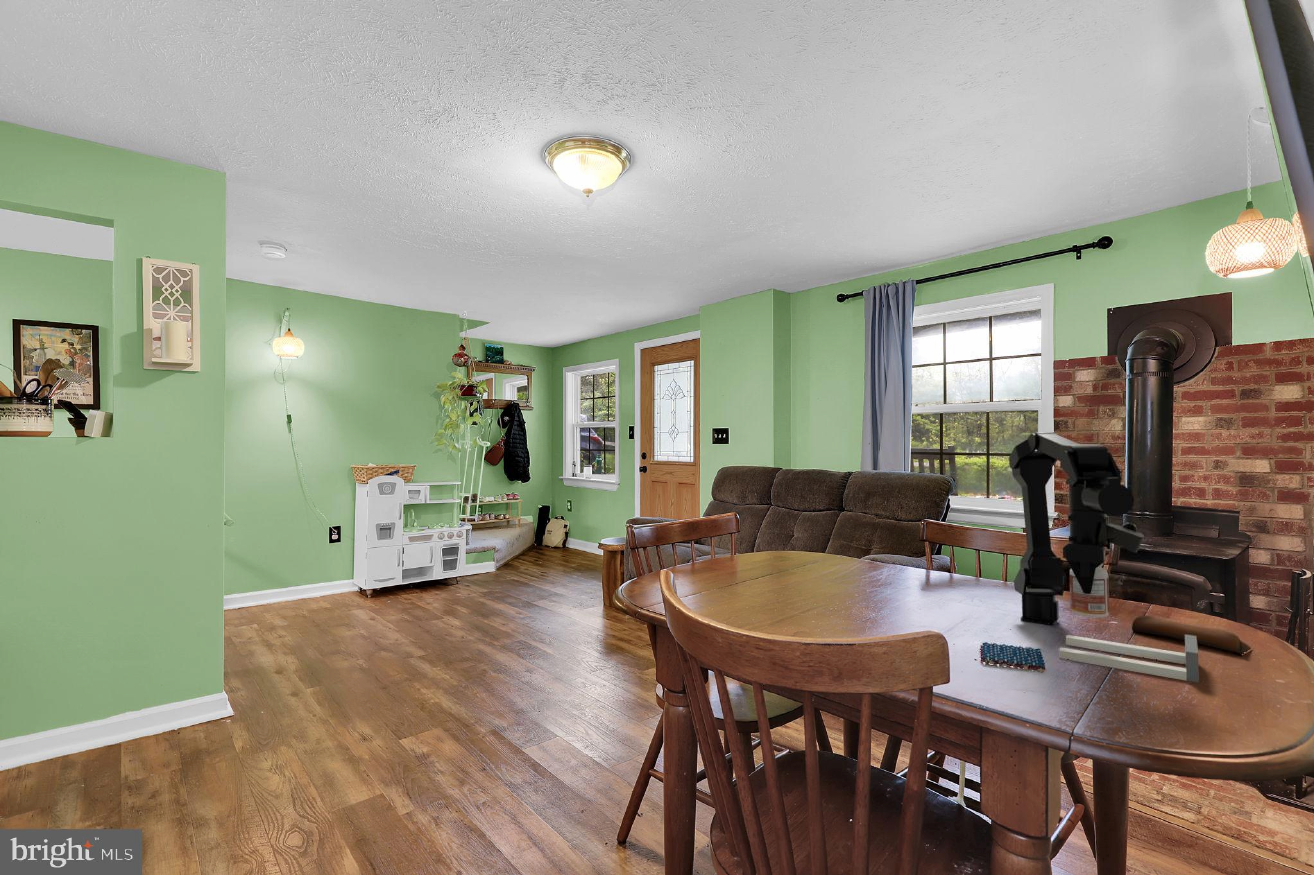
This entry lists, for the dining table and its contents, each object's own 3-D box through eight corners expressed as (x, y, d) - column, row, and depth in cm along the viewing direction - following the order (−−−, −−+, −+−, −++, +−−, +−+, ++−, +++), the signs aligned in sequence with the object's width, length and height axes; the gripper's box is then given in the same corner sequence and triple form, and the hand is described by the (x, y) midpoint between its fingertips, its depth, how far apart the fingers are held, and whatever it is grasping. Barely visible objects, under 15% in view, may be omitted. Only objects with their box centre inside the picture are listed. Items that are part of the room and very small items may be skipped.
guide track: (1059, 658, 117) (1058, 631, 117) (1067, 642, 126) (1066, 617, 126) (1199, 682, 104) (1198, 653, 104) (1197, 663, 113) (1196, 636, 113)
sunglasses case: (1259, 648, 120) (1251, 621, 118) (1247, 673, 117) (1239, 645, 115) (1150, 625, 135) (1141, 601, 134) (1137, 646, 132) (1128, 622, 131)
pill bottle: (1082, 607, 123) (1081, 552, 123) (1116, 615, 117) (1115, 557, 117) (1063, 612, 120) (1062, 555, 120) (1097, 620, 114) (1096, 560, 114)
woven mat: (979, 650, 124) (979, 640, 124) (1041, 657, 119) (1041, 647, 119) (979, 667, 114) (979, 656, 114) (1046, 676, 109) (1046, 665, 109)
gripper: (1137, 517, 106) (1140, 607, 106) (1142, 507, 120) (1144, 586, 120) (1061, 513, 113) (1063, 598, 113) (1074, 504, 128) (1075, 579, 128)
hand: (1089, 590), depth 118 cm, fingers closed on pill bottle, 6 cm apart
